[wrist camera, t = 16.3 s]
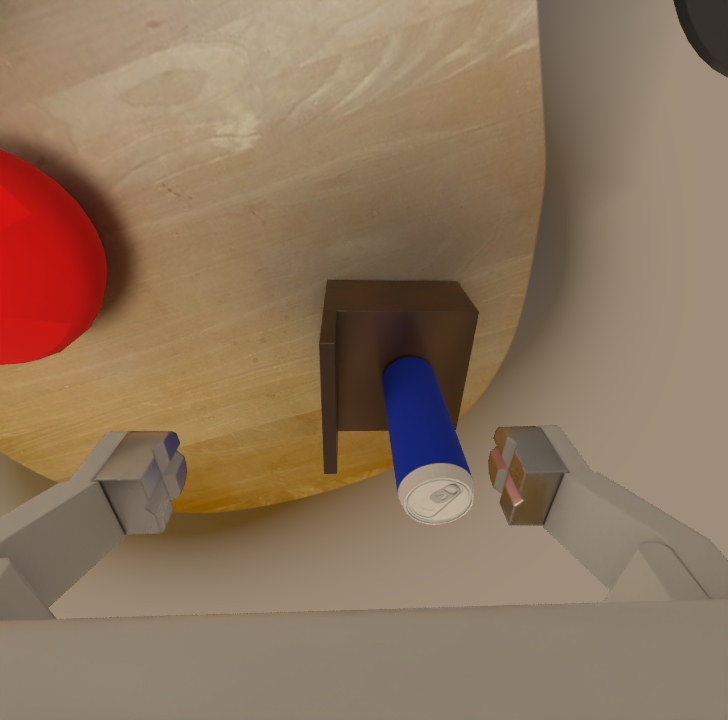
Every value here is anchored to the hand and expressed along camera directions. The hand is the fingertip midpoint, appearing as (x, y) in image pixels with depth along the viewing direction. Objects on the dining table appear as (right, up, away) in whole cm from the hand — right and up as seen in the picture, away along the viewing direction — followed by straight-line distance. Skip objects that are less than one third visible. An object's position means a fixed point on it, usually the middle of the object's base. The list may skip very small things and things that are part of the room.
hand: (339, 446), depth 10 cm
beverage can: (+5, +1, +28) cm, 29 cm away
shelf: (+4, +5, +35) cm, 35 cm away
